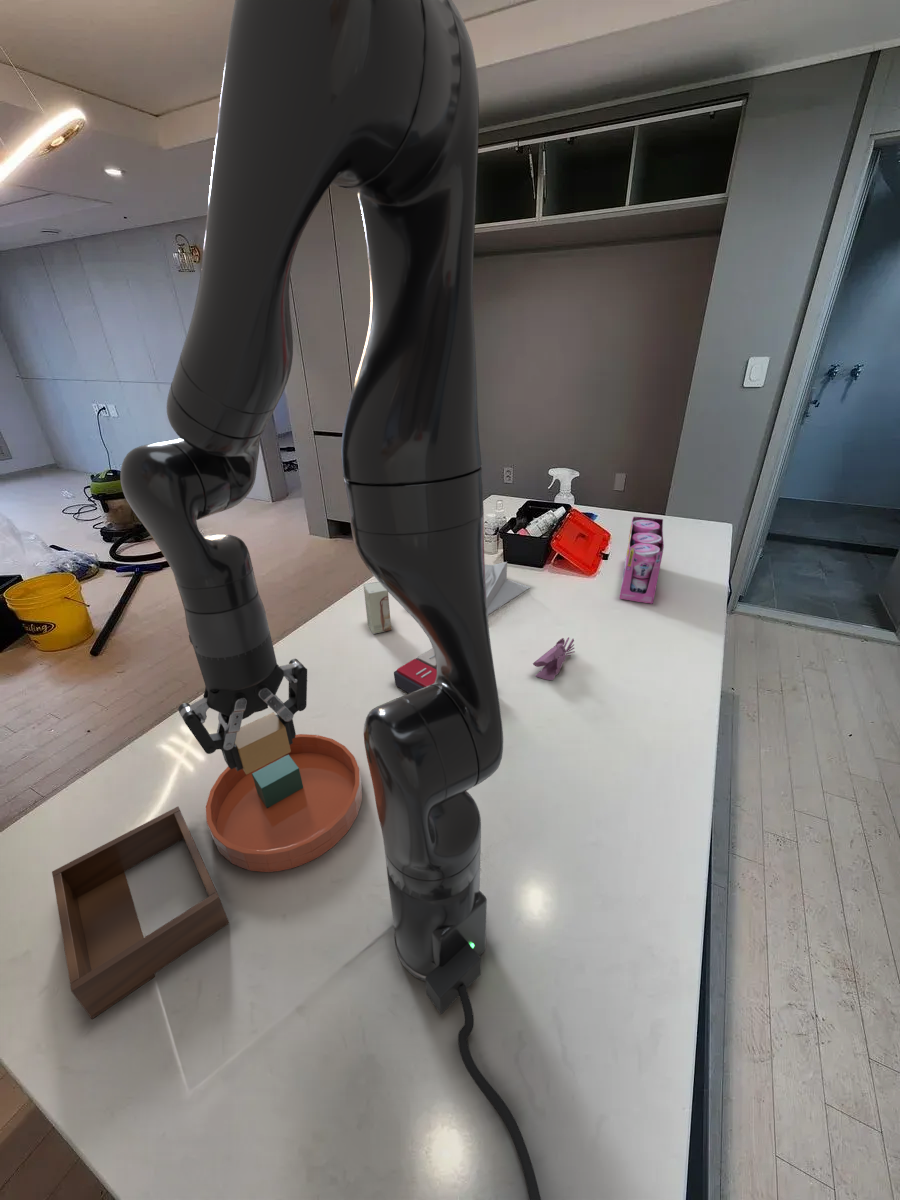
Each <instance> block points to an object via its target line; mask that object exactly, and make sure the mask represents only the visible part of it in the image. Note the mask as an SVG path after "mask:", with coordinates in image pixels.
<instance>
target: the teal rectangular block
mask: <svg viewBox="0 0 900 1200" xmlns="http://www.w3.org/2000/svg"><path fill="white" fill-rule="evenodd" d="M252 776H253V780H254V783H255V787H256V790H257V793H258V795H259V796H260V798H261V800H262V801H263V803H264V804H265V806H266V808H269V807H270V806H272V805H274V804H276V803H277V802H279V801H281V800H283V799H284V798H286V797H288V796H290V795H291V794H293V793H295V792H297V791H298V790H300V789H302V788H303V784H302V779H301V775H300V771H299V768H298V766H297V765H296V764H295V762H294V761H293V760H292V758H291V757H290V756H289V755H286V756H285V757H283V758H281V759H279V760H277V761H275V762H273V763H271V764H269V765H267V766H265V767H264V768H262V769H260V770H258V771H256V772H254V773H252Z"/></svg>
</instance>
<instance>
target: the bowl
mask: <svg viewBox="0 0 900 1200" xmlns="http://www.w3.org/2000/svg"><path fill="white" fill-rule="evenodd" d="M292 741H293V744H291V745H290V749H291V752H290V753H288V754H286V755H289V756H290V757H291V758H292V760H293V761H294V762H295V764H296V765H297V766H298V768H299V771H300V775H301V779H302V784H303V788H302V789H300V790H298V791H297V792H295V793H293V794H291V795H290V796H288V797H286V798H284V799H283V800H281V801H279V802H277V803H276V804H274V805H272V806H270V807H269V808H266V806H265V804H264V803H263V801H262V800H261V798H260V796H259V795H258V793H257V790H256V787H255V783H254V780H253V776H252V773H254V772H256V771H258V770H260V769H262V768H264V767H265V766H267V765H269V764H271V763H273V762H275V761H277V760H279V759H281V758H283V757H285V756H286V755H284V756H282V757H280V758H278V759H276V760H274V761H272V762H270V763H268V764H266V765H264V766H262V767H261V768H259V769H257V770H255V771H253V772H251V773H249V774H247V775H246V773H245V772H244V770H243V769H241V770H239V771H237V770H236V768H233V769H230V768H229V767H228V766H226V768H225V769H224V770H223V771H222V772H221V773H220V775H218V777H217V779H216V781H215V782H214V784H213V785H212V787H211V789H210V791H209V793H208V798H207V801H206V803H205V804H206V805H205V818H206V825H207V827H208V831H209V832H210V835H211V837H212V840H213V842H214V844H215V847H216V848H217V850H218V853H219V854H220V855H221V856H222V857H224V858H225V859H226V860H227V861H228V862H229V863H231V864H232V865H234V866H236V867H239V868H241V869H244V870H247V871H252V872H259V873H275V872H280V871H287V870H290V869H294V868H297V867H300V866H303V865H305V864H307V863H310V862H312V861H314V860H316V859H317V858H319V857H321V856H322V855H324V854H325V853H326V852H328V851H329V850H331V849H332V848H334V847H335V845H336V844H338V843H339V842H340V841H341V840H342V839H343V838H344V837H345V835H346V834H347V833H348V832H349V830H350V829H351V827H352V826H353V824H354V822H355V820H356V819H357V817H358V815H359V812H360V808H361V805H362V802H363V788H362V779H361V771H360V768H359V767H360V766H359V765H358V762H357V760H356V757H355V756H354V754H353V753H352V752H351V750H349V748H348V747H346V746H345V745H344V744H342V743H340V742H339V741H337V740H335V739H333V738H330V737H326V736H322V735H319V734H306V733H298V734H296V735H295V738H293V739H292Z"/></svg>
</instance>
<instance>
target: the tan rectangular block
mask: <svg viewBox="0 0 900 1200" xmlns="http://www.w3.org/2000/svg"><path fill="white" fill-rule="evenodd" d="M276 715H277V714H276V712H275V711H273V712H270V713H268V714H266V715H263V716H262V717H260V718H257V719H256V720H253V721H252V722H249V723H247V724H245V725H242V726H241V727H240V731H239V732H237V735H236V740H235V744H236V746H237V749H238V752H239V756H240V759H241V762H242V766H243V770H244V772H245V773H246V775H247V774H249V773H251V772H253V771H255V770H257V769H259V768H261V767H262V766H264V765H266V764H268V763H270V762H272V761H274V760H276V759H278V758H280V757H282V756H284V755H286V754H288V753H290V752H291V749H290V745H289V741H288V736H287V732H286V728H285V726H284V725H283V724H282V722H281V721H280V720H279V718H278V717H277V716H276Z"/></svg>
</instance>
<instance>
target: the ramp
mask: <svg viewBox="0 0 900 1200" xmlns="http://www.w3.org/2000/svg"><path fill="white" fill-rule="evenodd" d="M507 576H508V561H504V562H500V563H495V564H485V581H486V597H487V612H488V616H489V615H490V614H492V613H494V612H495V611H496V610H498V609H499V608H501V607H503V606H504V605H506V604H507V603H509V602H510V601H512V600H514V599H515V598H517V597H518V596H519V595H521V594H523V593H524V592H526V591H527V590H528V589H530V588H531V587H530V586H528V585H525V584H523V583H519V582H516V581H513V580H511V579H508V578H507Z"/></svg>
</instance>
